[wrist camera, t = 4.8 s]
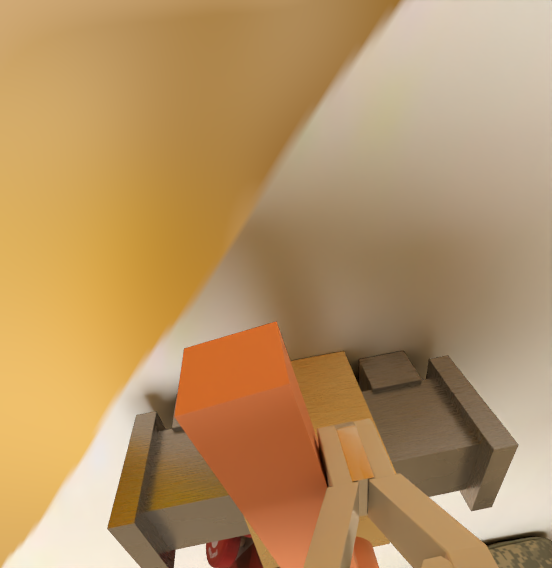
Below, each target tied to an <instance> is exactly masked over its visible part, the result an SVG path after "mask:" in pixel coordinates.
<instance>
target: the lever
mask: <svg viewBox="0 0 552 568" xmlns="http://www.w3.org/2000/svg"><path fill="white" fill-rule="evenodd" d="M174 417H175V419H176V420H177V421H178V423H179V424H180V426H181V427H182V429H183V430H184V431H185V433H186V434H187V436H188V437H189V439H190V440H191V441H192V443H193V444H194V446H195V447H196V448H197V450H198V451H199V453H200V454H201V456H202V457H203V458H204V460H205V461H206V463H207V464H208V466H209V467H210V468H211V470H212V471H213V473H214V474H215V476H216V477H217V478H218V480H219V481H220V483H221V484H222V485H223V487H224V488H225V490H226V491H227V493H228V494H229V495H230V497H231V498H232V500H233V501H234V503H235V504H236V505H237V507H238V508H239V510H240V511H241V513H242V514H243V515H244V517H245V518H246V520H247V521H248V522H249V524H250V525H251V527H252V528H253V530H254V531H255V532H256V534H257V535H258V537H259V538H260V540H261V541H262V542H263V544H264V545H265V547H266V548H267V550H268V551H269V552H270V554H271V555H272V557H273V558H274V559H275V561H276V562H277V564H278V565H279V567H280V568H303V567H304V564H305V560H306V557H307V553H308V550H309V547H310V543H311V540H312V536H313V533H314V530H315V526H316V523H317V520H318V516H319V513H320V509H321V506H322V503H323V499H324V496H325V492H326V489H327V488H328V485H327V481H326V477H325V473H324V469H323V465H322V461H321V457H320V452H319V447H318V440H317V437H316V434H315V431H314V428H313V425H312V422H311V419H310V416H309V414H308V411H307V408H306V405H305V402H304V399H303V396H302V393H301V390H300V388H299V385H298V382H297V379H296V376H295V373H294V370H293V367H292V364H291V362H290V359H289V356H288V353H287V350H286V347H285V344H284V341H283V338H282V336H281V333H280V330H279V327H278V324H277V321H276V322H273V323H269V324H266V325H262V326H259V327H256V328H252V329H249V330H245V331H242V332H239V333H235V334H232V335H229V336H225V337H222V338H218V339H215V340H212V341H208V342H205V343H201V344H198V345H195V346H191V347H188V348H184V353H183V360H182V367H181V374H180V381H179V388H178V395H177V402H176V408H175V415H174ZM350 568H379V566H378V563H377V559H376V556H375V553H374V550H373V547H372V544H371V543H370V542H369V541H368V540H366V539H364V538H361V537H356V538H355V543H354V549H353V554H352V559H351V565H350Z"/></svg>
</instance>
